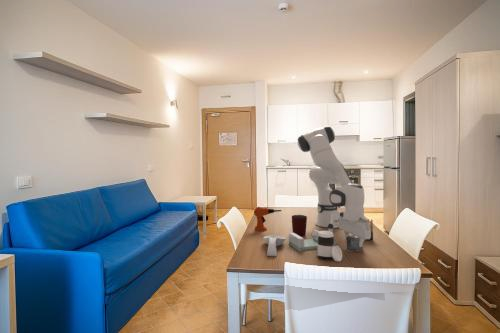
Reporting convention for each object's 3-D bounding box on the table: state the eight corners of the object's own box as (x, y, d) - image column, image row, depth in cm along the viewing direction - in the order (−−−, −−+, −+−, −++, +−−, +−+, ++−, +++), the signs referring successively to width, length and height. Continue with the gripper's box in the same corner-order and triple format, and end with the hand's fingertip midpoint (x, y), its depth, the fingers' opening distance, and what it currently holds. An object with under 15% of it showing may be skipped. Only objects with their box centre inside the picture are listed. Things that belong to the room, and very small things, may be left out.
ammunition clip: (352, 239, 164) (353, 218, 163) (352, 238, 165) (353, 217, 165) (373, 240, 160) (373, 219, 160) (372, 239, 162) (373, 218, 161)
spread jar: (317, 252, 143) (318, 229, 142) (341, 254, 139) (342, 231, 139) (316, 261, 131) (316, 236, 130) (342, 264, 128) (342, 238, 127)
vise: (324, 239, 162) (324, 229, 162) (336, 245, 152) (336, 234, 151) (288, 244, 155) (288, 233, 155) (298, 250, 145) (298, 239, 144)
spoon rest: (264, 240, 162) (264, 228, 161) (285, 241, 160) (285, 228, 160) (260, 256, 138) (260, 241, 138) (285, 257, 137) (285, 242, 136)
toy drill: (282, 231, 174) (279, 206, 174) (253, 231, 182) (251, 208, 181) (284, 229, 179) (281, 205, 179) (256, 229, 186) (253, 206, 186)
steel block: (358, 248, 148) (359, 235, 148) (362, 250, 145) (363, 236, 145) (346, 250, 146) (346, 236, 145) (350, 252, 143) (350, 238, 142)
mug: (290, 231, 180) (291, 213, 179) (305, 231, 179) (305, 213, 178) (292, 236, 168) (292, 218, 167) (307, 237, 167) (307, 218, 166)
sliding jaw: (326, 236, 163) (327, 221, 162) (338, 242, 152) (339, 226, 152) (311, 238, 159) (312, 222, 159) (323, 244, 149) (323, 227, 149)
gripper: (374, 220, 135) (373, 249, 136) (347, 211, 155) (346, 236, 155) (363, 221, 133) (362, 250, 134) (336, 212, 153) (336, 237, 153)
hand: (353, 243), depth 145 cm, fingers open, 8 cm apart
